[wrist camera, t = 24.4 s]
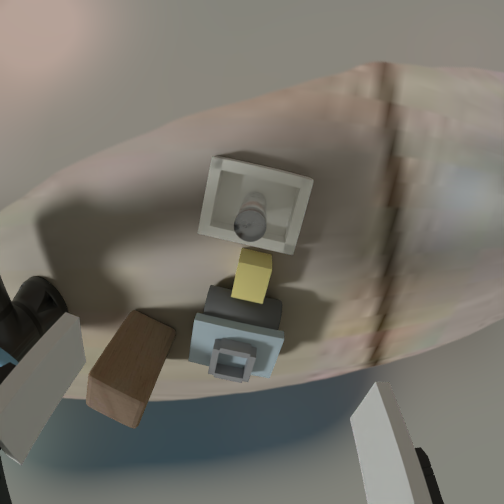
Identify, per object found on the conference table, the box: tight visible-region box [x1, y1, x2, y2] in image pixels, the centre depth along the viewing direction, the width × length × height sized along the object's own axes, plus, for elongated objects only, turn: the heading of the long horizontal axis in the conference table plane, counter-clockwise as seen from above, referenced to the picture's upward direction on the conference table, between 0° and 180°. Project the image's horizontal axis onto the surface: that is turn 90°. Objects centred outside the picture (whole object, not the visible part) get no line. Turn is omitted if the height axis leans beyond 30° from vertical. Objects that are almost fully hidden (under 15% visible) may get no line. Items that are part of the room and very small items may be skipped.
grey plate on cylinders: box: [189, 285, 284, 383], centre depth 48 cm, size 14×15×12 cm
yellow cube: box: [231, 248, 272, 304], centre depth 47 cm, size 5×6×6 cm
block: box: [86, 310, 176, 428], centre depth 47 cm, size 10×10×20 cm
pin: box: [234, 192, 267, 242], centre depth 39 cm, size 4×4×13 cm
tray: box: [198, 156, 314, 255], centre depth 44 cm, size 15×12×4 cm
